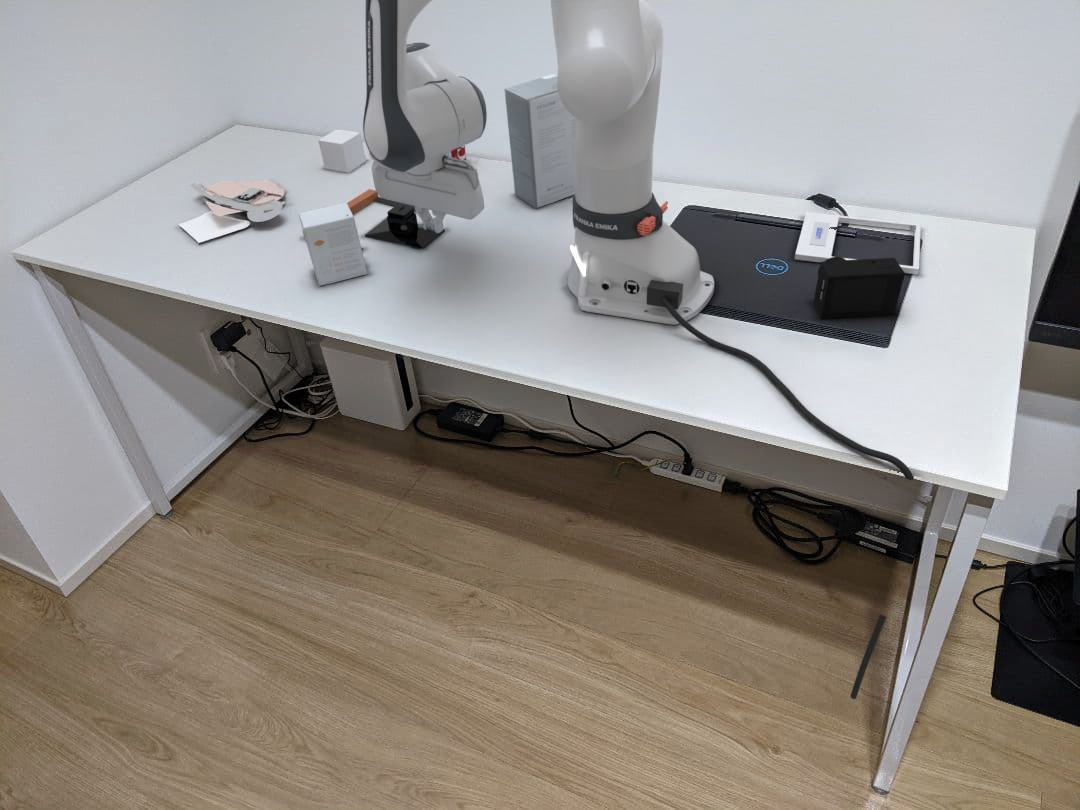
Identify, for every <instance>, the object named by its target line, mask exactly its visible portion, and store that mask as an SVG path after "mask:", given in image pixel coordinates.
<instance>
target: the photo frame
mask: <svg viewBox="0 0 1080 810" xmlns="http://www.w3.org/2000/svg"><path fill="white" fill-rule="evenodd" d="M839 223H840V224H851V225H861V226H870V227H879V228H887V229H896V230H906V231H914V240H913V241H914V242H913V257H912V259H913V261H912V265H906V264H899V265H900V267H901V268H902V270H903V271H904V273H905V274H911V275H918V274H919V271H920V252H921V251H920V250H921V231H922V230H921V229H922V227H921V226H922V224H921V223H913V222H904V221H895V220H888V219H887V220H886V219H876V218H868V217H867V218H866V217H859V216H858V217H856V216H849V215H839V214H829V213H821V212H820V213H819V212H810V211H806V212H805V215H804V219H803V223H802V227H801V229H800V230H801V231H800V233H799V239H798V242H797V246H796V250H795V254H794V260H796V261H805V262H812V263H813V262H814V263H820V264H821V262H823V261H826V260H827V259H829V258H832V257H833V256H832V255H833V249H834V244H835V241H836V235H837V229H838V224H839ZM830 227H837V229H836V230H834V229H831V228H830ZM829 228H830V229H829ZM843 258H844V259H845V260H858V259H856V258H849V257H848V258H847V257H843Z"/></svg>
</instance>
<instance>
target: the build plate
mask: <svg viewBox="0 0 1080 810" xmlns="http://www.w3.org/2000/svg"><path fill="white" fill-rule="evenodd" d="M386 213H387V216H386V218H384V219H383V220H382V221H381V222H379V223H378V224H377V225H375V226H374V227H373V228H371V229H370V230H369V231H367V232H366V233H365V234H364V237H365V238H368V239H372V240H378V241H382V242H387V243H391V244H396V245H401V246H405V247H410V248H411V249H413V250H414V249H415V250H425V249H426V248H427V247H428V246H429V245H431V244H432V243H433V242H434V241H435V240H437V239H438V238H439V237H440V236H441V235H442V234H444V233H445V232H446V230H445V228H443V231H441V232H440V233H436V232H432V231H427V230H424V227H423V223H422V224H421V223H418V217H417V213H416V212H414V208H410V207H406V208H404V206H400V205H396V206H395V207H394V206H392V208H390V209H389V210H388V211H386Z"/></svg>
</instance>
